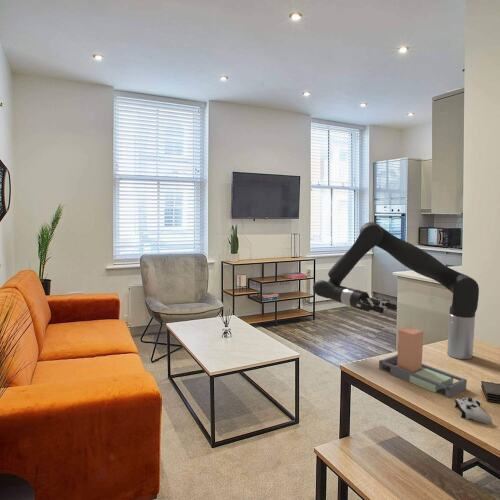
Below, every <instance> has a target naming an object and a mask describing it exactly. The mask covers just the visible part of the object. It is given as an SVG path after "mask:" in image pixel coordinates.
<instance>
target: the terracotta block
mask: <svg viewBox="0 0 500 500" xmlns="http://www.w3.org/2000/svg"><path fill="white" fill-rule="evenodd" d="M423 343H424V330H420V329H417V328H413V327H410V326H408V327H404V328H400V329H398V340H397V355H398V357H397V367H400V368H402V369H405V370H407V371H410V372H414V371H416V370H419V369H421V368H422V364H423V350H424V349H423V348H424V347H423V346H424V344H423Z"/></svg>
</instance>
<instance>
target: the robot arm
mask: <svg viewBox="0 0 500 500" xmlns="http://www.w3.org/2000/svg"><path fill="white" fill-rule="evenodd" d="M375 247H377V248H380V249H381V250H383V251H385V252H386V253H387V254H389V255H390V256H392V257H393V258H394V259H395V260H396V261H397V262H399V264H402V265H403V266H404V267H406V268H408V269H409V270H411V271H413V272H415V273H417V274H419V275H420V276H423V277H426V278H429V279H431V280H433V281H435V282H437V283H439V284H441V286H443V287H445V289H448V291H450V292H451V293H452V302H451V305H450V307H449V315H448V317H449V318H448V330H447V331H448V333H447V345H446V346H447V348H446V349H447V350H446V354H447V355H448V356H450V357H452V358H453V359H459V360H470V359H472V358H473V354H474V342H475V323H476V322H475V321H476V312H477V310H478V304H479V295H480V287H479V284H478V281H476V280H475V279H474V278H473V277H471V276H469V275H467V274H464V273H462V272H459V271H457V270H455V269H452V268H450V267H448V266H446V265H445V264H443V263H442V262H441V261H440V260H439V259H437V258H436V257H434V256H433V255H432V254H430V253H428V252H426V251H425V250H424V249H421V248H420V247H418V246H416V245H413V244H412V243H409V242H408V241H406V240H404V239H401V238H400V237H397V236H395V235H394V234H393V233H390V232H389V231H387V229H385V228H384V227H382V226H381V225H380V224H378V223H377V222H373V221H370V222H365V223H364V224H362V226H361V227H360V229H359V234H358V236H357V238H356V240H355V242H354V243H353V244H352V245H351V247H350V248H349V249H348V250H347V251H346V252H345V253H344V254H343V255H342V256H341V257H340V258H339V259H338V260H337V261H336V262H335V263H334V265H333V266H332V267H331V268H330V270H329V271H328V273H327V276H328V277H329V279H328V280H327V281H326V280H323V279H319V280H317V281H315V282H314V283H313V286H312V289H313V292H314V294H315V295H317V296H319V297H322V298H325V299H330V300H333V301H334V302H338V303H340V304H343V305H345V306H348V307H351V308H353V309H356V310H359V311H365V312H367V313H369V312H376V313H378V314H384V312H385V309H388V310H389V309H390V310H393V311H396V310H397V306H398V305H397V304H395V303H392V302H390V300H389V299H385V298H381V297H377V296H376V297H370V295H369V293H368V292H367V291H363V290H360V289H356V288H352V287H347V286H343V285H341V284H342V282H343V281H344V279H345V278H346V277H347V276H349V274H350V273H351V272H352V270H353V269H354V268H355V266H356V265H357V264H358V263H359V261H360V260H361V259H363V257H365V255H366V254H368V253H369V252H370V251H371V250H372V249H373V248H375Z"/></svg>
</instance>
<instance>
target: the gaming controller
mask: <svg viewBox="0 0 500 500" xmlns="http://www.w3.org/2000/svg"><path fill="white" fill-rule="evenodd" d="M454 402H455V404H454V408H455V409H456V408H457V409H459V412H461V415H460V418H462V419H465V420H469V419H471V420H474V421H477V422H479V423H482V424H484V425H490V424H491V423H492V417H490V416H489V414H488V413H487V412H486V411H485V410H483V409H482V408H481V402H480V401H479V400H478V399H475V398H472V397H459V398H456V399H455V400H454Z"/></svg>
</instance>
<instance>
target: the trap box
mask: <svg viewBox="0 0 500 500" xmlns="http://www.w3.org/2000/svg"><path fill="white" fill-rule="evenodd" d="M397 357H398V354H395V355H392V356H388V357H386V358H384V359H380V360H379V361H378V362H379V363H378V370H380V371H382V370H383V371H386V372H388V373H390V375H392V376H394V377H396V378H400V379H402V380H404V381H407V382H409V383H410V384H411V383H412V384H413V385H416V386H419V387H421V388H423V389H426V390H428V391H430V392H433V393H439V394H441V395H444V397H445V398H447V399H449V398H451V397H453V396H455V395H457V394H459V393H461V392H463V391H464V390H467V380H468V379H466V378H464V377H461V376H458V375H455V374H452V373H449V372H446V371H445V370H442V369H438V368H436V367H433V366H430V365H429V364H425V363H422V368H421V369H419V370H416V371H414V372H410V371H407V370H405V369H402V368H400V367H397ZM454 380H457V381H456V382H454Z"/></svg>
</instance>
